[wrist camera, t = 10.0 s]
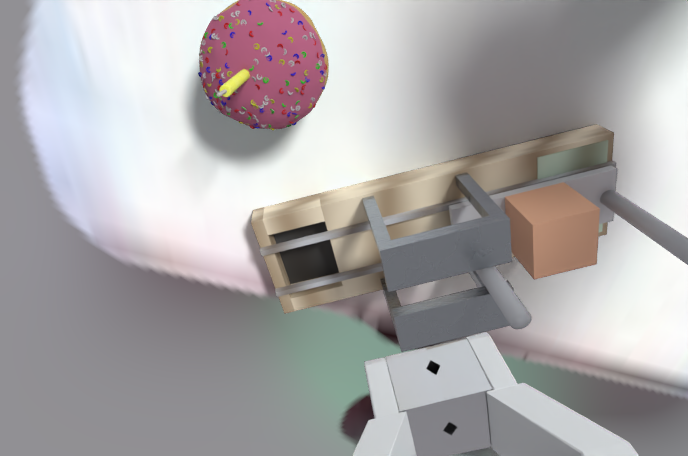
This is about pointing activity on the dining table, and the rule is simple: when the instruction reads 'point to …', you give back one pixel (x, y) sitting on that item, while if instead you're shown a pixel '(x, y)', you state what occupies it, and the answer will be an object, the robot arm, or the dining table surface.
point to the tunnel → (444, 270)
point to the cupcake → (263, 63)
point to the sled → (562, 229)
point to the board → (400, 213)
